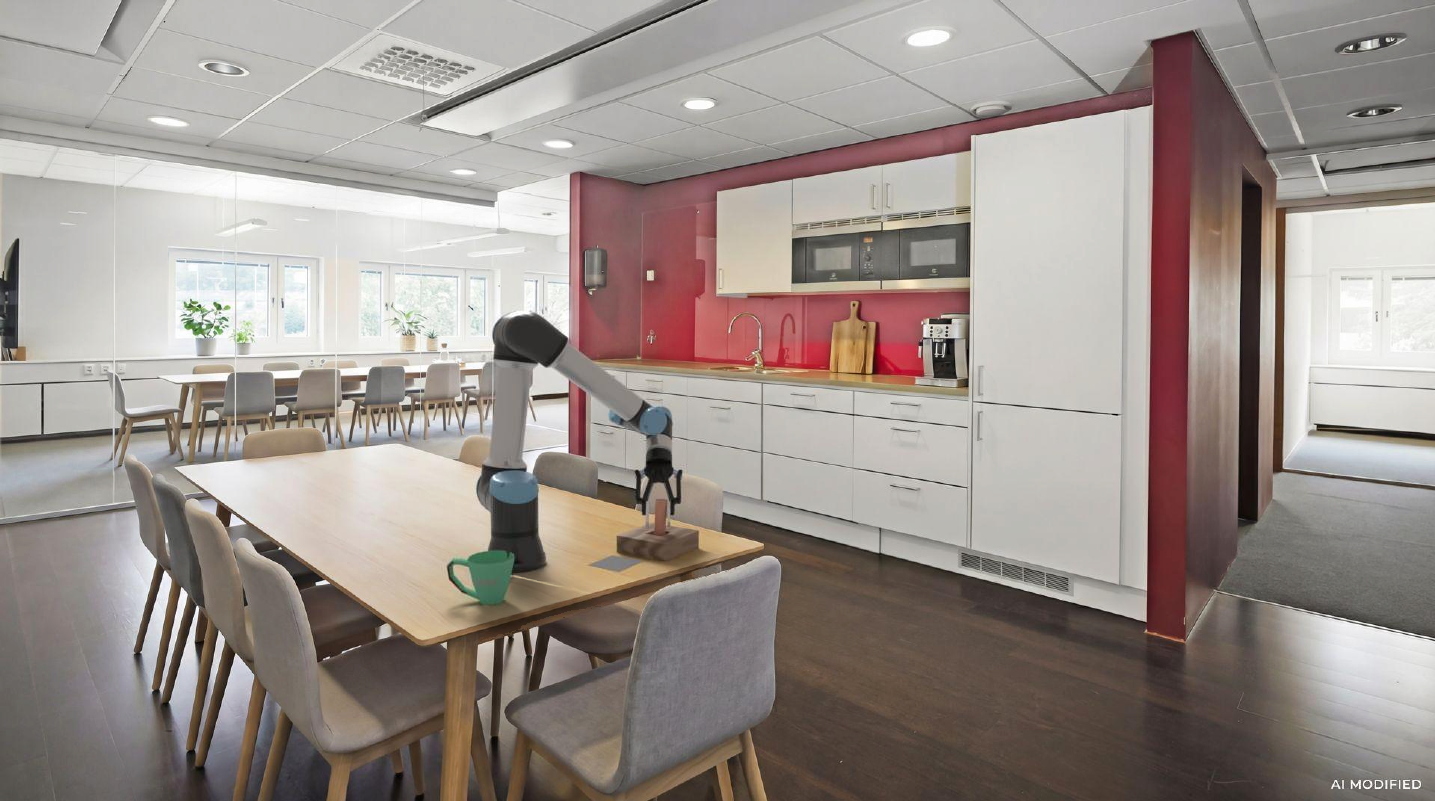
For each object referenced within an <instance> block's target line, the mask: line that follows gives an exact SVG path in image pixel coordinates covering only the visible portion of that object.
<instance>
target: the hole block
mask: <svg viewBox="0 0 1435 801" xmlns="http://www.w3.org/2000/svg"><path fill="white" fill-rule="evenodd" d="M699 532H700V531H699V530H698V529H692V528H687V527H686V528H685V527H680V526H674V525H673V526H672V525H670V527H667V524H666V534H665V535H662V536H656V535H654V522H649V528H646V524H644V525H641V526H638V527H636V528H632V529H631V530H630V529H629V530H628V531H625V532H623V533H619V534H617V535H616V553H621V554H624V555H625V554H626V555H630V556H636V557H640V558H641V557H642V558H645V559H651V560H655V561H662V562H667V561H670V560H672V559H674V558H677V557H678V556H681V555H683V554H686V553H687V552H690V551H696V550H697V549H699V546H700V542H699V541H700V539H699V538H700V533H699Z"/></svg>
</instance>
